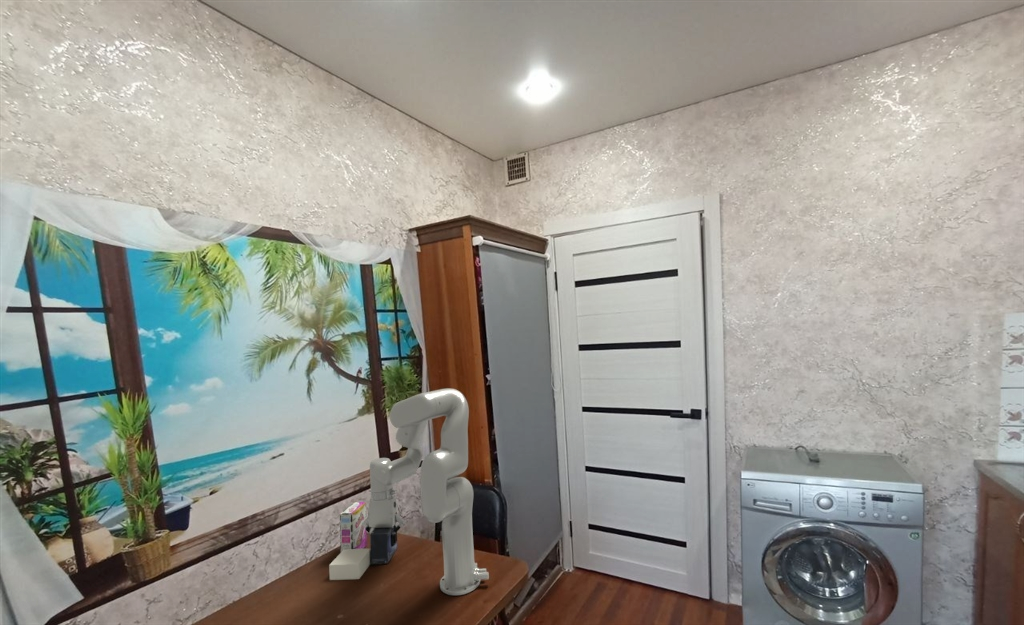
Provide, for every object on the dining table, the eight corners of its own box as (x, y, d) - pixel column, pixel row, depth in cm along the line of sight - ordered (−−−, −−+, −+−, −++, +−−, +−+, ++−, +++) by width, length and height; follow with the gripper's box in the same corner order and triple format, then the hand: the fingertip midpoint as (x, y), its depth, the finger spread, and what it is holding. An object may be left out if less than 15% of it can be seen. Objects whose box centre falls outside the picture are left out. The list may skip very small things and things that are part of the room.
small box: (388, 564, 137) (387, 533, 138) (370, 565, 137) (368, 534, 138) (398, 548, 148) (396, 519, 149) (380, 549, 148) (379, 520, 149)
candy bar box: (353, 561, 141) (351, 513, 142) (340, 561, 142) (338, 514, 143) (368, 545, 152) (366, 501, 154) (355, 545, 153) (354, 501, 154)
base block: (371, 562, 140) (371, 548, 140) (359, 579, 130) (358, 563, 130) (344, 564, 140) (344, 549, 141) (329, 580, 130) (329, 565, 131)
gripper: (408, 489, 147) (411, 539, 146) (364, 490, 149) (366, 540, 148) (400, 497, 140) (403, 550, 138) (354, 498, 142) (356, 550, 140)
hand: (384, 544), depth 143 cm, fingers closed on small box, 6 cm apart
